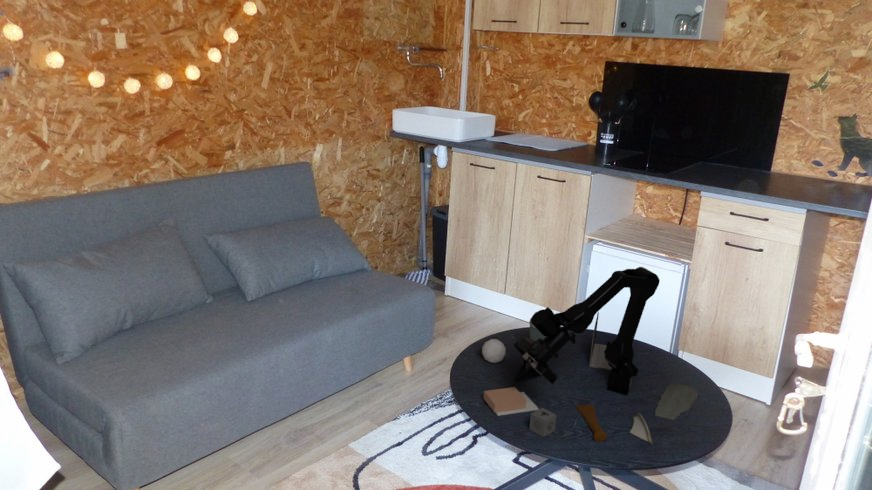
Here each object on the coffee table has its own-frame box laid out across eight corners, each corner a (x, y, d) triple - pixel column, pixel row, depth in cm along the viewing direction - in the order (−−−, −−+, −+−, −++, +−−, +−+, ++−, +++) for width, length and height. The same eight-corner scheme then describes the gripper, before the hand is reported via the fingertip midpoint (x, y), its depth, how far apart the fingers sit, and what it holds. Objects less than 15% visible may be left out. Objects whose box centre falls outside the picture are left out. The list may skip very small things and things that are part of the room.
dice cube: (554, 430, 194) (556, 415, 193) (543, 437, 191) (545, 421, 190) (540, 423, 198) (542, 407, 196) (529, 429, 195) (530, 413, 193)
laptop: (627, 374, 229) (632, 337, 225) (588, 367, 233) (593, 331, 229) (629, 351, 246) (634, 317, 242) (593, 345, 249) (597, 311, 245)
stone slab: (699, 397, 220) (667, 384, 224) (701, 390, 218) (670, 377, 223) (684, 430, 201) (650, 416, 205) (687, 423, 200) (653, 408, 204)
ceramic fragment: (653, 447, 190) (655, 434, 189) (634, 445, 190) (636, 433, 189) (639, 420, 203) (641, 408, 202) (622, 419, 203) (623, 407, 202)
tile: (514, 387, 210) (484, 391, 207) (526, 400, 203) (495, 404, 200) (513, 394, 211) (483, 399, 208) (525, 408, 204) (494, 413, 201)
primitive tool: (574, 406, 208) (576, 396, 207) (592, 406, 209) (594, 396, 208) (593, 443, 190) (595, 432, 189) (613, 443, 190) (614, 432, 189)
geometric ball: (498, 367, 234) (514, 352, 232) (485, 367, 228) (502, 351, 225) (485, 350, 238) (501, 334, 235) (473, 349, 232) (489, 333, 229)
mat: (523, 392, 213) (523, 391, 213) (538, 409, 204) (538, 408, 204) (484, 398, 209) (484, 397, 209) (497, 415, 200) (497, 414, 200)
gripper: (522, 315, 210) (485, 353, 210) (551, 342, 193) (512, 382, 193) (542, 337, 215) (507, 373, 215) (573, 364, 198) (535, 404, 198)
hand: (514, 382), depth 205 cm, fingers closed
